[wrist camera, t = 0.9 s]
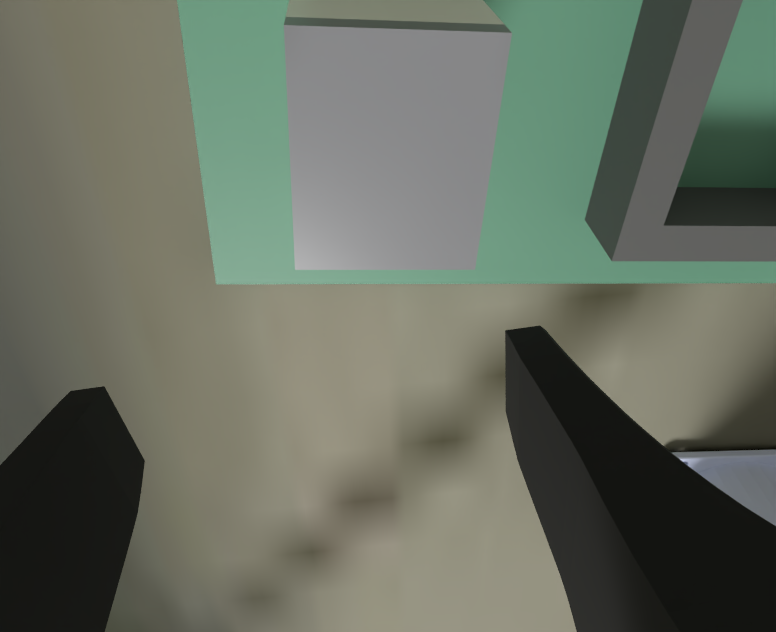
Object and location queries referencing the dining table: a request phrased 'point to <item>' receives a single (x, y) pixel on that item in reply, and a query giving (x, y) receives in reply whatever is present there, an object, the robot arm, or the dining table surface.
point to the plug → (391, 130)
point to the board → (533, 145)
